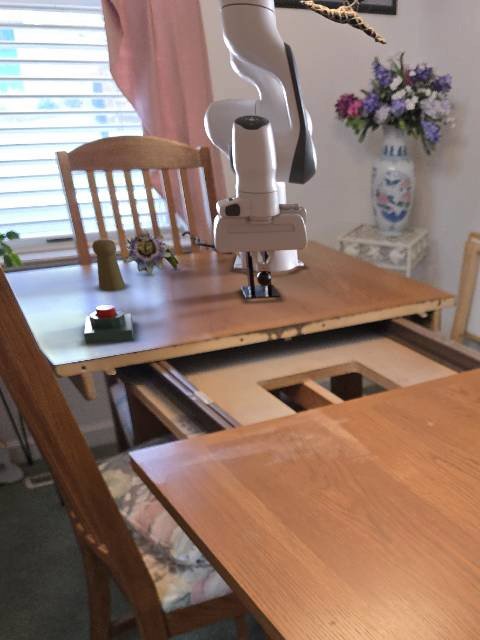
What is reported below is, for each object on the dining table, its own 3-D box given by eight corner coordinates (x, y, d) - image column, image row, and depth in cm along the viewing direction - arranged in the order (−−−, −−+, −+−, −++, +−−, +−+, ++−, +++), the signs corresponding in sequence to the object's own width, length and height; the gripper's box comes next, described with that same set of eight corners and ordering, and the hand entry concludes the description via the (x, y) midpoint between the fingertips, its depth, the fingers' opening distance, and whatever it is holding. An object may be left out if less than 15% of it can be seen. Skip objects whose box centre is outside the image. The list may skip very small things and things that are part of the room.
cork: (129, 284, 175) (120, 237, 168) (119, 291, 170) (109, 243, 163) (105, 283, 175) (96, 236, 169) (94, 290, 170) (84, 241, 164)
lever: (272, 288, 161) (272, 277, 159) (258, 289, 161) (258, 278, 158) (262, 249, 167) (262, 238, 164) (248, 250, 166) (248, 238, 163)
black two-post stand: (280, 300, 168) (276, 244, 161) (246, 302, 166) (241, 245, 159) (273, 289, 176) (270, 234, 168) (241, 291, 173) (236, 236, 166)
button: (97, 313, 145) (95, 305, 144) (116, 312, 146) (114, 304, 145) (97, 319, 142) (95, 310, 141) (116, 318, 143) (114, 309, 142)
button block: (88, 326, 149) (84, 307, 147) (133, 323, 152) (129, 304, 149) (86, 344, 141) (81, 324, 138) (133, 341, 143) (130, 321, 141)
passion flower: (153, 295, 186) (119, 260, 177) (149, 276, 193) (115, 241, 184) (187, 269, 184) (153, 232, 175) (181, 251, 191) (149, 215, 182)
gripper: (303, 200, 157) (306, 265, 165) (209, 202, 151) (216, 269, 159) (309, 206, 152) (311, 272, 160) (211, 208, 146) (219, 277, 154)
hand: (263, 271), depth 159 cm, fingers closed, pressing on lever
